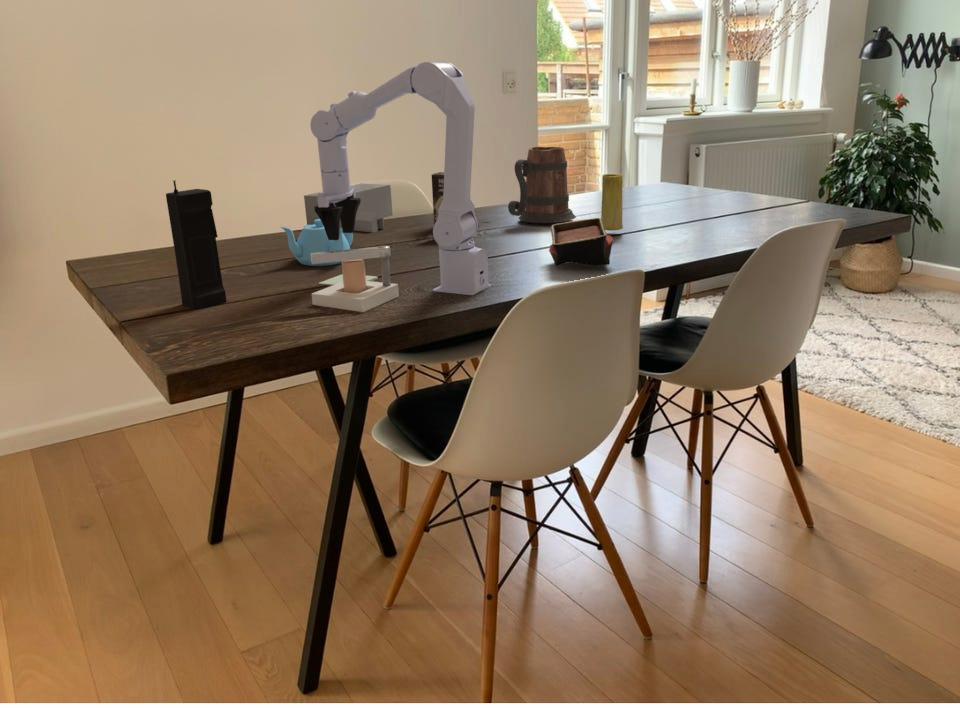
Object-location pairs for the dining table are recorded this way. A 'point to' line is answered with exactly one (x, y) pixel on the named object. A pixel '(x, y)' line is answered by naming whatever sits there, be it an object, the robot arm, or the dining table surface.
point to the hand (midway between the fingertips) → (341, 236)
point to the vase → (612, 201)
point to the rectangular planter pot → (581, 243)
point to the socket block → (362, 301)
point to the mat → (340, 279)
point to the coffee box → (437, 192)
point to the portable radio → (195, 248)
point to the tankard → (542, 187)
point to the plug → (354, 276)
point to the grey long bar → (350, 254)
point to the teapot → (316, 243)
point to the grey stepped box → (361, 207)
